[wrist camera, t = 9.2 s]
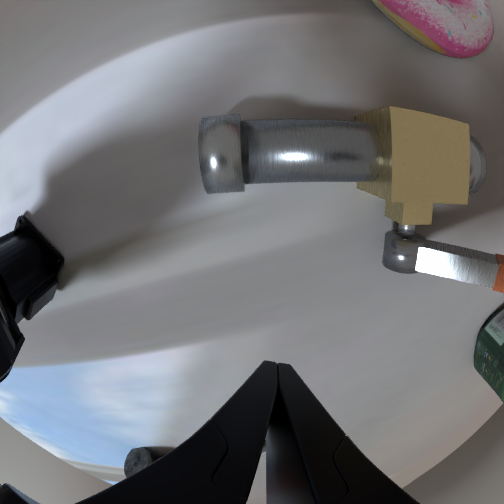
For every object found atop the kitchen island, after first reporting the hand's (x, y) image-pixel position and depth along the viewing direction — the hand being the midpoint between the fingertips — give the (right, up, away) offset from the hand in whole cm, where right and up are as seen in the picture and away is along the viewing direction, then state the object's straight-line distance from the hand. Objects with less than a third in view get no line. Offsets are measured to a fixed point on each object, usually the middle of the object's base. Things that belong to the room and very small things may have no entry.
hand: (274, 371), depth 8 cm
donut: (+13, +25, +3) cm, 29 cm away
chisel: (+9, +4, +9) cm, 13 cm away
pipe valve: (+6, +9, +9) cm, 14 cm away
